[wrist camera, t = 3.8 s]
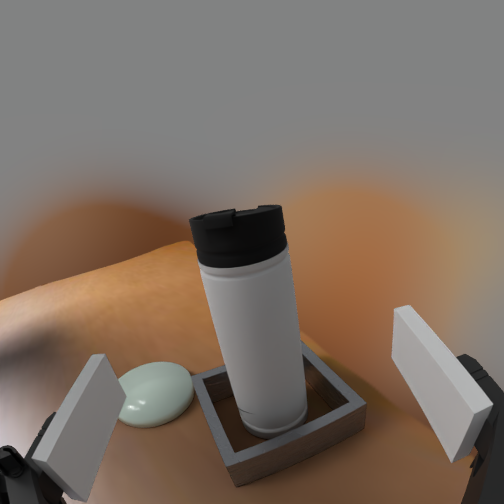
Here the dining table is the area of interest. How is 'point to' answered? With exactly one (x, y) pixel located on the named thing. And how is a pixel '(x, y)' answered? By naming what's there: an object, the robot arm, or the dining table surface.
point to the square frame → (295, 441)
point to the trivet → (155, 394)
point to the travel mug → (254, 314)
